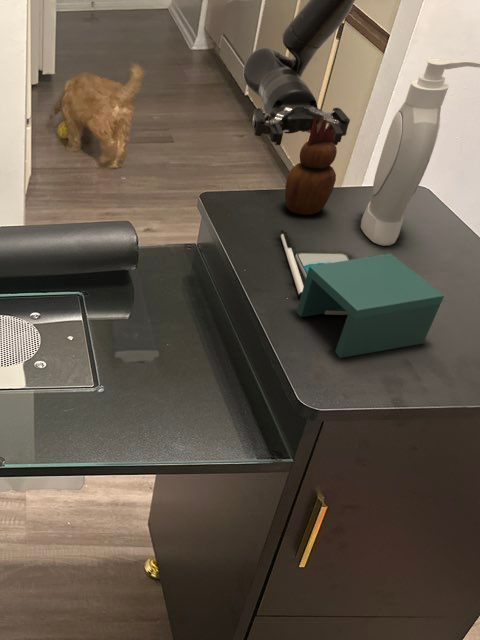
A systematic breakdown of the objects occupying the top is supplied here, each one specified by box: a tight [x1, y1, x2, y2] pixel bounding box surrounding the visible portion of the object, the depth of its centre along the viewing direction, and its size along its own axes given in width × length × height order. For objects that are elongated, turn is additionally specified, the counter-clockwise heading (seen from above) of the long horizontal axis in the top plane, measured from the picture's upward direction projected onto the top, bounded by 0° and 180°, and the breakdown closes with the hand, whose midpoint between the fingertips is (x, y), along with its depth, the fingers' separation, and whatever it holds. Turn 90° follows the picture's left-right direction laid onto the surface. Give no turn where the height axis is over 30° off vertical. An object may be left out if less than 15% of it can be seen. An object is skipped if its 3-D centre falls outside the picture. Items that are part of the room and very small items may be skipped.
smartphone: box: [294, 252, 350, 316], centre depth 99 cm, size 7×1×15 cm
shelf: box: [296, 253, 445, 359], centre depth 89 cm, size 11×10×7 cm
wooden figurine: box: [284, 117, 338, 216], centre depth 110 cm, size 7×6×15 cm
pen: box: [280, 229, 304, 299], centre depth 102 cm, size 1×19×1 cm, turn 170°
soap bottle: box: [360, 58, 480, 247], centre depth 101 cm, size 13×8×24 cm, turn 164°
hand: (308, 139), depth 114 cm, fingers open, 8 cm apart
